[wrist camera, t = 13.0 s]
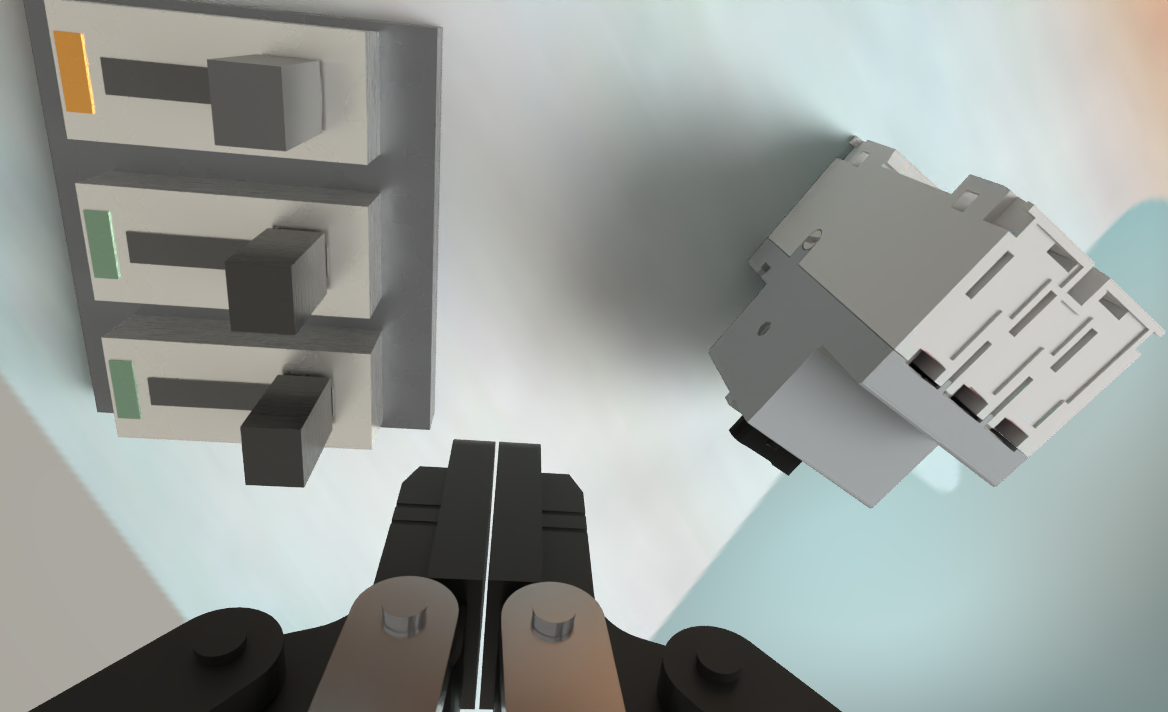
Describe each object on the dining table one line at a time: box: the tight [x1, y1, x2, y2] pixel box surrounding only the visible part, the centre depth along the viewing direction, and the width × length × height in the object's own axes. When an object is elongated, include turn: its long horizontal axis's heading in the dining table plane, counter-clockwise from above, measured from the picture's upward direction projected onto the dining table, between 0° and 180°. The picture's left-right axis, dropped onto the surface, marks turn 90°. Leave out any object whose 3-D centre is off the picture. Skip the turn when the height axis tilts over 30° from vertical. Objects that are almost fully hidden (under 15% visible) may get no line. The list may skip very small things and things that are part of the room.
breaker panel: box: [23, 0, 442, 487], centre depth 33 cm, size 20×17×10 cm
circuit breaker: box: [708, 136, 1166, 508], centre depth 34 cm, size 8×14×15 cm, turn 142°
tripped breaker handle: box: [207, 54, 322, 151], centre depth 28 cm, size 3×2×5 cm
